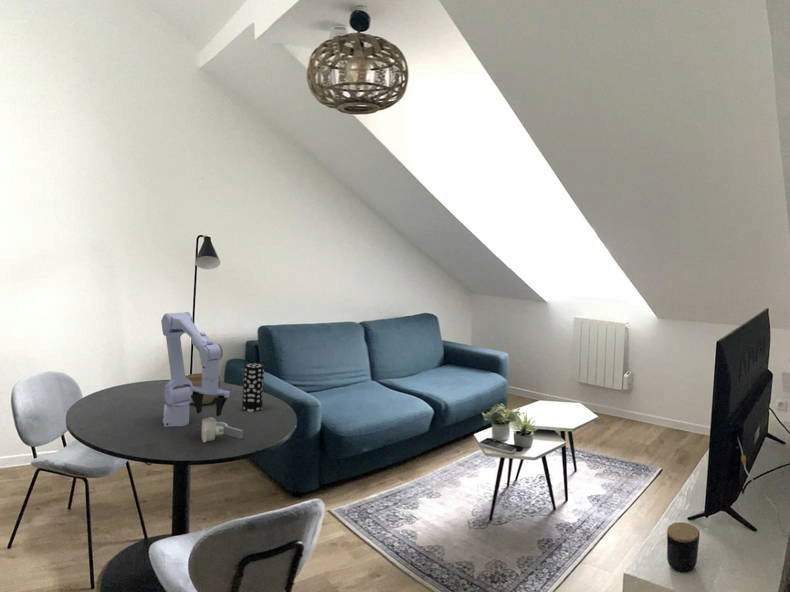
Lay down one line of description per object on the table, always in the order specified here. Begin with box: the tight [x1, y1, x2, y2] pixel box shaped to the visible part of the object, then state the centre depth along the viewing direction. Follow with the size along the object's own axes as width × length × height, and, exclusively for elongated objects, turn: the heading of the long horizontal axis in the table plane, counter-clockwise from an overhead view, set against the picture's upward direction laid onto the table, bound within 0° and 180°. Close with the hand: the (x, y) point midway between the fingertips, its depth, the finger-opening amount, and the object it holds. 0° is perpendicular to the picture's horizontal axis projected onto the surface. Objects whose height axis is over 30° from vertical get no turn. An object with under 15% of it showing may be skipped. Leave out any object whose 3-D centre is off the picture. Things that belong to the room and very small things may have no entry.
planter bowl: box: [185, 372, 223, 405], centre depth 252 cm, size 16×16×11 cm
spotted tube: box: [241, 362, 265, 413], centre depth 243 cm, size 8×8×20 cm
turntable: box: [215, 421, 244, 440], centre depth 214 cm, size 14×14×3 cm
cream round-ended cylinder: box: [200, 416, 217, 443], centre depth 207 cm, size 8×5×7 cm, turn 0°
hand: (208, 414), depth 207 cm, fingers open, 7 cm apart
